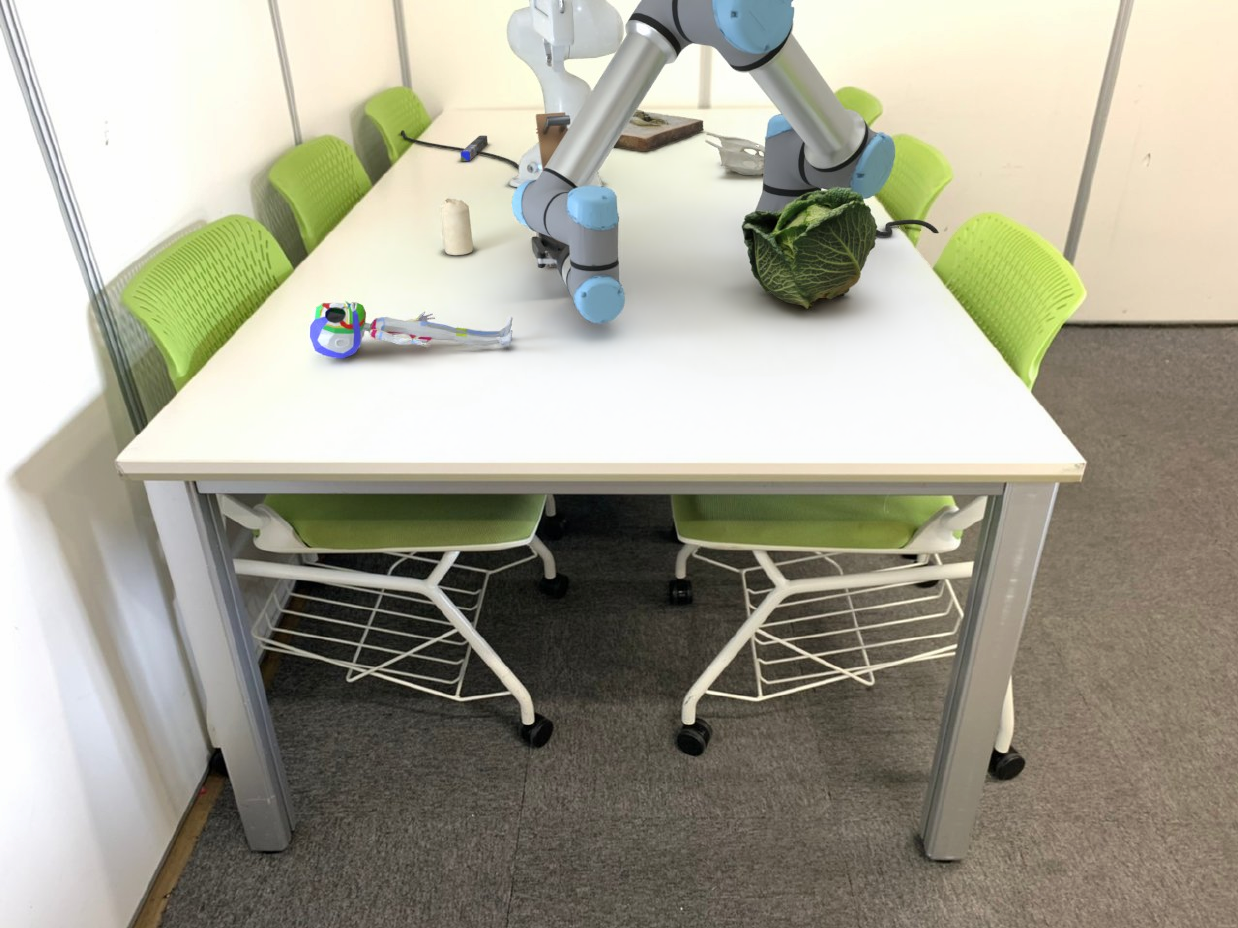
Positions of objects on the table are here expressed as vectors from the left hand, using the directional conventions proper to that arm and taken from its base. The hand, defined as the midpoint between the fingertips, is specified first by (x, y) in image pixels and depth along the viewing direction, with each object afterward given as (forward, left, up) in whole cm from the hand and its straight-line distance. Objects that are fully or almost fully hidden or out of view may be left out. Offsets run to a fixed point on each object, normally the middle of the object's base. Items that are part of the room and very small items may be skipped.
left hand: (554, 69), depth 150 cm
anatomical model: (+5, +78, -34) cm, 85 cm away
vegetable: (+45, +6, -34) cm, 57 cm away
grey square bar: (-71, +63, -34) cm, 101 cm away
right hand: (-2, +2, -28) cm, 28 cm away
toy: (0, -42, -34) cm, 54 cm away
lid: (-3, +3, -16) cm, 17 cm away
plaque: (-42, +100, -34) cm, 114 cm away
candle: (-23, -3, -34) cm, 41 cm away
